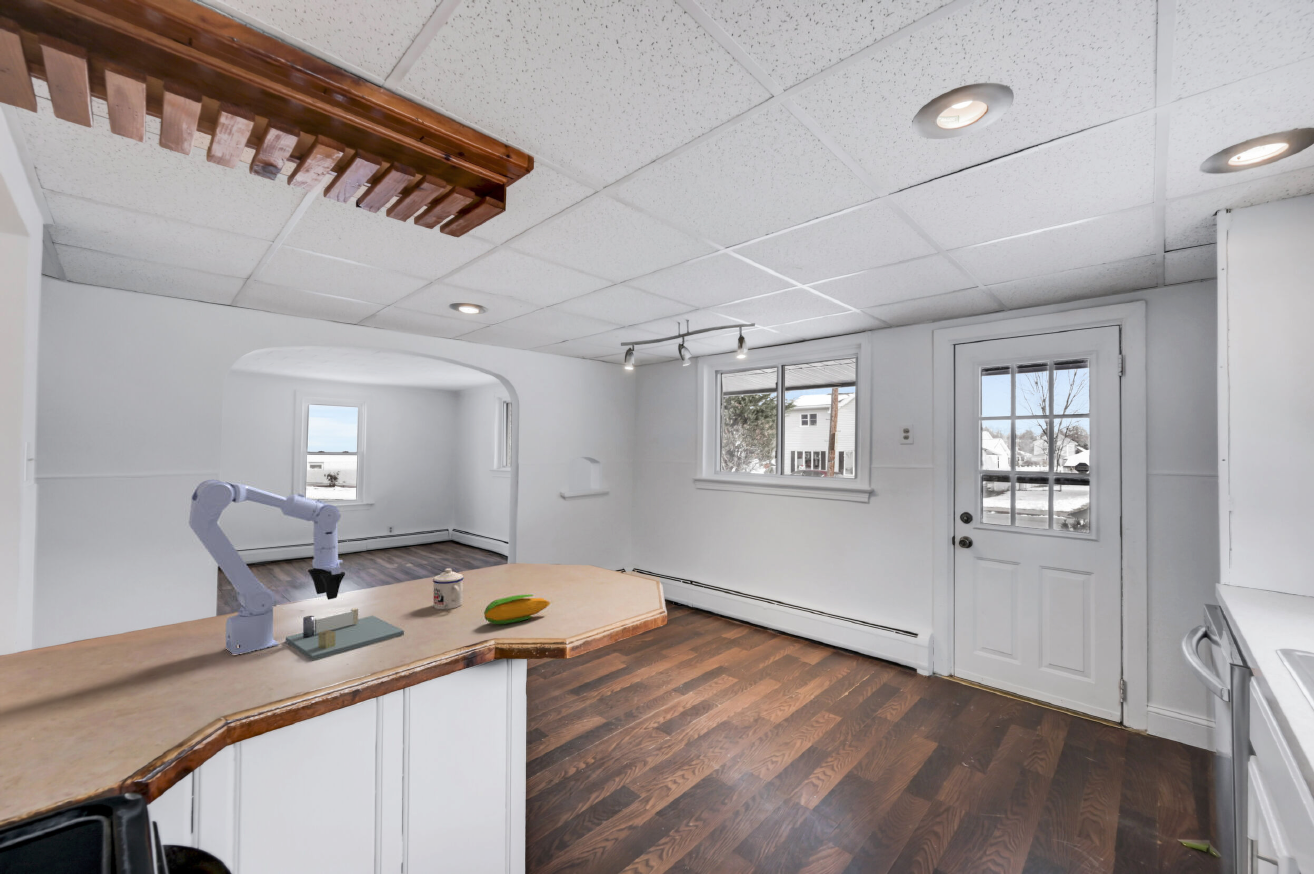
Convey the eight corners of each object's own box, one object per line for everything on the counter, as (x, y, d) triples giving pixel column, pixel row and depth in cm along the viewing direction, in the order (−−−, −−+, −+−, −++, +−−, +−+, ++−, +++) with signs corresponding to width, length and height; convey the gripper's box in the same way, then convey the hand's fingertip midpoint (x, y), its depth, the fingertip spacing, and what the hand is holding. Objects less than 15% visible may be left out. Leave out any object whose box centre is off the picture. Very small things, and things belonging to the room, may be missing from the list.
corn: (480, 596, 156) (544, 585, 168) (479, 622, 157) (543, 609, 169) (489, 605, 150) (554, 592, 162) (488, 632, 151) (554, 617, 163)
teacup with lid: (428, 605, 173) (428, 568, 173) (455, 599, 179) (456, 564, 179) (443, 614, 164) (443, 575, 164) (472, 607, 170) (472, 570, 170)
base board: (312, 660, 130) (312, 655, 130) (285, 641, 142) (285, 636, 142) (403, 634, 147) (403, 630, 147) (372, 619, 159) (372, 615, 159)
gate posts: (322, 649, 134) (322, 629, 133) (301, 636, 142) (301, 617, 142) (336, 646, 136) (336, 626, 136) (315, 632, 145) (315, 614, 145)
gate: (316, 633, 143) (316, 618, 143) (314, 632, 144) (314, 617, 144) (358, 623, 151) (358, 608, 151) (355, 621, 152) (355, 607, 152)
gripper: (352, 548, 149) (353, 597, 149) (331, 541, 158) (332, 587, 158) (323, 552, 143) (324, 603, 143) (303, 545, 152) (304, 593, 153)
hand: (326, 595), depth 150 cm, fingers open, 7 cm apart
